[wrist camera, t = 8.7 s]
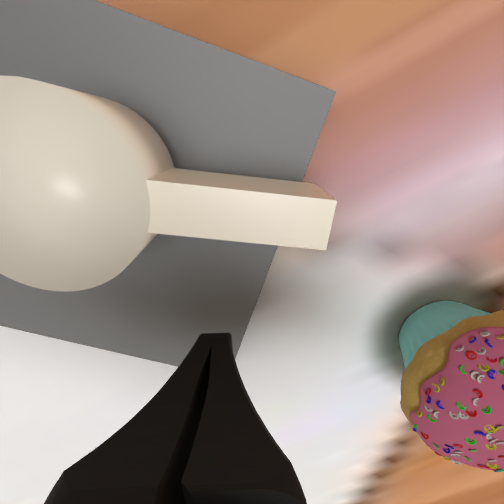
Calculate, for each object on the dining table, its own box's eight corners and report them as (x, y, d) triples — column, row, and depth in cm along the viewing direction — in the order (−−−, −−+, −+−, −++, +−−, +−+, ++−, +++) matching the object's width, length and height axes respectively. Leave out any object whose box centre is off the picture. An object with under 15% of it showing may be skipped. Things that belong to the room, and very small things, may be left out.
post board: (2, 305, 17) (-37, 332, 15) (-3, -27, 11) (-69, -70, 9) (229, 359, 19) (226, 391, 16) (326, 96, 13) (343, 87, 11)
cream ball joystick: (38, 242, 12) (-43, 282, 9) (8, 85, 10) (-114, 60, 7) (297, 266, 13) (314, 313, 10) (324, 123, 11) (359, 118, 7)
